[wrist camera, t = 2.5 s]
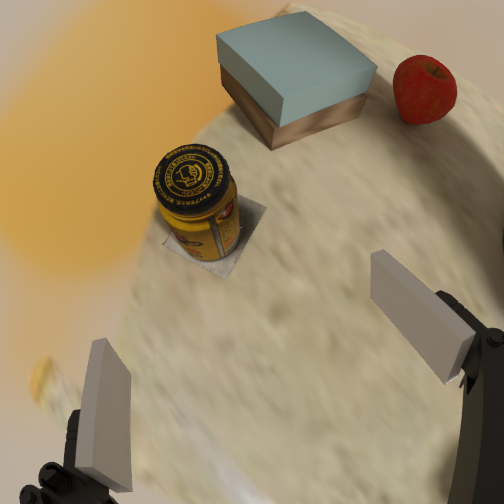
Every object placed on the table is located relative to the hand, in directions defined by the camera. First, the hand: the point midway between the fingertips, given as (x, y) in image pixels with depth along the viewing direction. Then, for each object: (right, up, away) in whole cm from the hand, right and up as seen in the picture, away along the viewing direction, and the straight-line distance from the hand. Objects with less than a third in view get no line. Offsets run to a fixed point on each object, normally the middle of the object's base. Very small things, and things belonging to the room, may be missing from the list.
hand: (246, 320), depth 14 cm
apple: (+22, +22, +22) cm, 38 cm away
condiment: (-3, +6, +18) cm, 19 cm away
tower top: (+5, +24, +18) cm, 31 cm away
